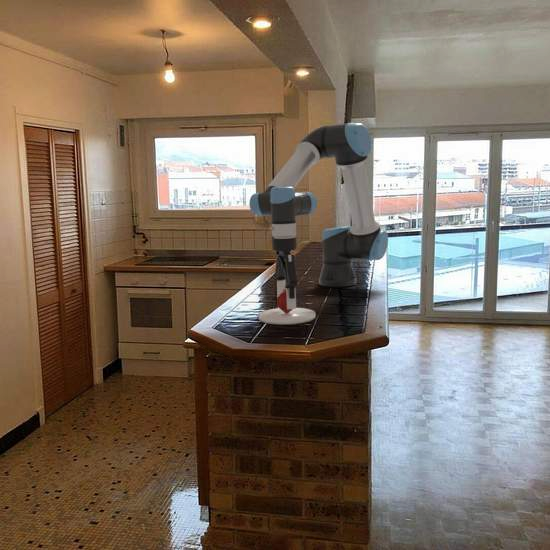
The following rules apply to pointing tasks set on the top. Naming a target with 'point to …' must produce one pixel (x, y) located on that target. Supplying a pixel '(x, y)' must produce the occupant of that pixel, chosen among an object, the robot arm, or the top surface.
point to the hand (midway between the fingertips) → (286, 304)
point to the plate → (287, 316)
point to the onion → (283, 302)
